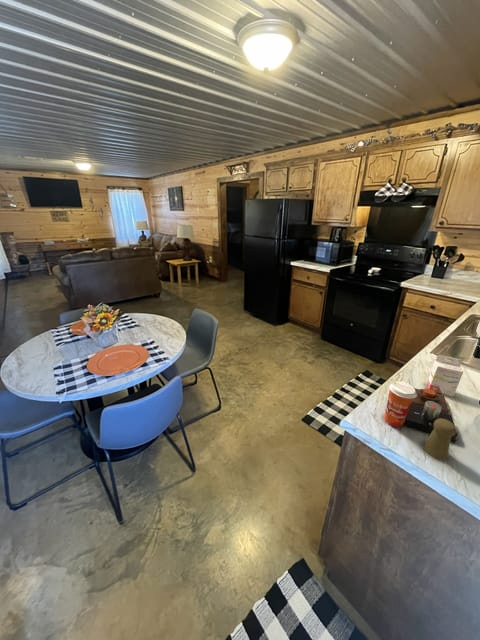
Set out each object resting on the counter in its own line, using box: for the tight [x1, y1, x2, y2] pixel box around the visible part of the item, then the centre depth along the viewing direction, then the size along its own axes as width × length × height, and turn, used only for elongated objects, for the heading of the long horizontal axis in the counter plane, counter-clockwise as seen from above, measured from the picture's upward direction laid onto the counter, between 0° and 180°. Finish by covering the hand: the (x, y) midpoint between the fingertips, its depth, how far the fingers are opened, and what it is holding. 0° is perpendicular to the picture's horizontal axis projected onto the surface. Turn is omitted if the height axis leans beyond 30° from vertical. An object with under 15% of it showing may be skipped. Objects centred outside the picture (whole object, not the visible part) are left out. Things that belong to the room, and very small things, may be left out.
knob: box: [421, 401, 441, 422], centre depth 87 cm, size 4×4×5 cm
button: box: [423, 387, 436, 398], centre depth 98 cm, size 4×4×2 cm
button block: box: [412, 387, 450, 414], centre depth 99 cm, size 12×10×4 cm
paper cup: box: [384, 381, 417, 428], centre depth 88 cm, size 8×8×14 cm
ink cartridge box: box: [426, 354, 464, 397], centre depth 104 cm, size 9×5×15 cm, turn 65°
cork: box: [423, 419, 457, 461], centre depth 77 cm, size 6×6×11 cm
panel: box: [403, 404, 459, 443], centre depth 89 cm, size 14×10×3 cm
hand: (479, 357), depth 88 cm, fingers closed
